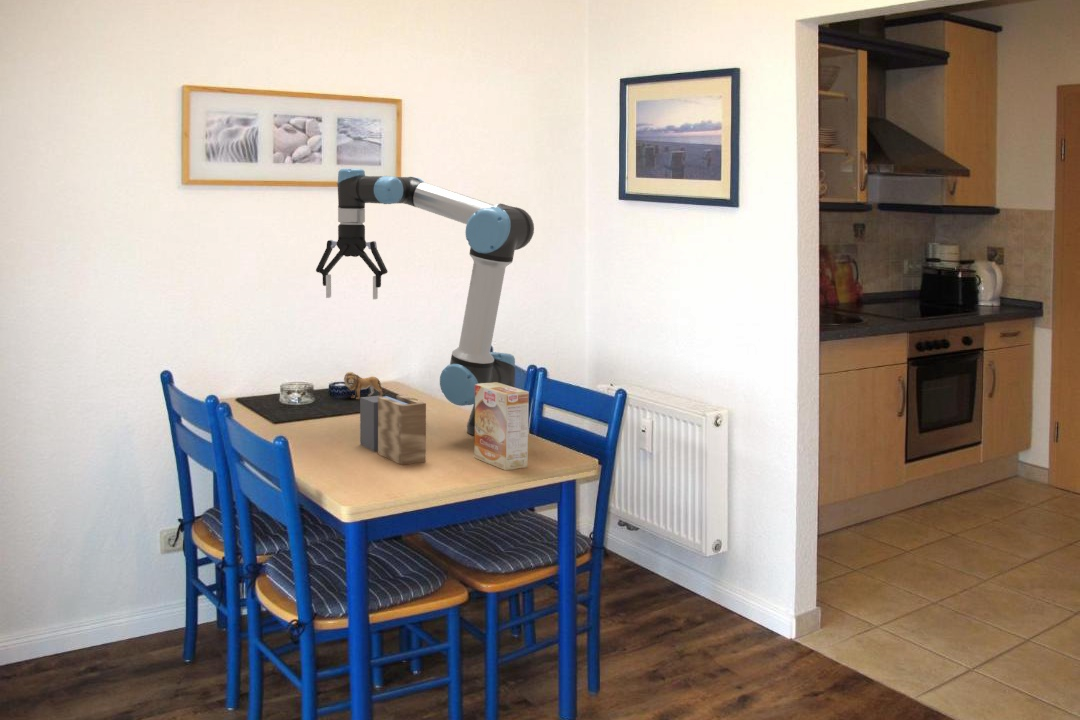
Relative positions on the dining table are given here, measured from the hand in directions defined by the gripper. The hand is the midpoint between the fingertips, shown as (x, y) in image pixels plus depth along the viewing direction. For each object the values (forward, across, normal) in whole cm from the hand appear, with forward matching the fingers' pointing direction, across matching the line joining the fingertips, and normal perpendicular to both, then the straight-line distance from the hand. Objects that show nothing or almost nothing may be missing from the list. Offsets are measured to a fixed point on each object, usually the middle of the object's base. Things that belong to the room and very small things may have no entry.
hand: (351, 298), depth 311 cm
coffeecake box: (+37, -48, +38) cm, 71 cm away
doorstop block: (+37, -13, +27) cm, 47 cm away
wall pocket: (+37, -22, +37) cm, 56 cm away
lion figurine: (+37, +6, -38) cm, 54 cm away
